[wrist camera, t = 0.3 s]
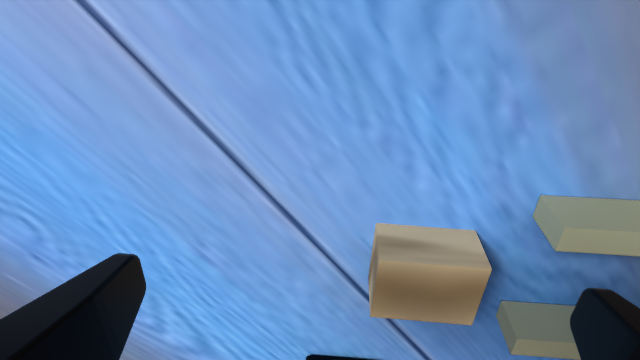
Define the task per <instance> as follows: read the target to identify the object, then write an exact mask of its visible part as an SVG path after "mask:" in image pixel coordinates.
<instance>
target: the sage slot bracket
mask: <svg viewBox="0 0 640 360" xmlns="http://www.w3.org/2000/svg"><path fill="white" fill-rule="evenodd" d="M533 218H534V220H535V221H536V223H537V224H538V226H539V227H540V229H541V230H542V232H543V233H544V235H545V236H546V238H547V239H548V241H549V242H550V244H551V245H552V247H553V248H554V250H555V251H563V252H579V253H595V254H610V255H626V256H640V201H638V200H620V199H602V198H584V197H567V196H549V195H540V198H539V200H538V203H537V206H536V209H535V211H534V214H533ZM574 308H575V306H571V305H557V304H542V303H528V302H514V301H501V303H500V306H499V308H498V311H497V314H496V317H497V320H498V323H499V325H500V328H501V330H502V333H503V336H504V338H505V341H506V343H507V346H508V349H509V351H510V354H513V355H526V356H539V357H551V358H564V359H577V360H581V358H580V355H579V352H578V349H577V346H576V343H575V340H574V337H573V334H572V331H571V328H570V317H571V314H572V312H573V310H574Z"/></svg>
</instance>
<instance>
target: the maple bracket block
mask: <svg viewBox="0 0 640 360" xmlns="http://www.w3.org/2000/svg"><path fill="white" fill-rule="evenodd" d="M491 271H492V268H491V265H490V263H489V261H488V258H487V256H486V254H485V251H484V249H483V247H482V245H481V242H480V240H479V238H478V235H477V233H476V231H474V230H461V229H448V228H435V227H422V226H409V225H396V224H383V223H376V226H375V234H374V241H373V248H372V255H371V262H370V269H369V276H368V277H369V299H370V317H380V318H392V319H403V320H415V321H427V322H438V323H450V324H462V325H472V324H473V321H474V318H475V316H476V313H477V310H478V307H479V304H480V302H481V299H482V296H483V293H484V290H485V288H486V285H487V282H488V279H489V277H490V274H491Z"/></svg>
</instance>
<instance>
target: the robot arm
mask: <svg viewBox="0 0 640 360" xmlns="http://www.w3.org/2000/svg"><path fill="white" fill-rule="evenodd" d="M145 291H146V282H145V278H144V274H143V270H142V266H141V263H140V259H139V258H138V256H137V255H134V254H123V253H118V254H115V255H112V256H111V257H109V258H107V259H105V260H104V261H102V262H100V263H98V264H97V265H95V266H93V267H91V268H90V269H88V270H86V271H84V272H83V273H81V274H79V275H77V276H76V277H74V278H72V279H70V280H69V281H67V282H65V283H63V284H62V285H60V286H58V287H56V288H55V289H53V290H51V291H49V292H48V293H46V294H44V295H42V296H40V297H39V298H37V299H35V300H33V301H32V302H30V303H28V304H26V305H25V306H23V307H21V308H19V309H18V310H16V311H14V312H12V313H11V314H9V315H7V316H5V317H4V318H2V319H0V360H119V359H120V356H121V354H122V351H123V349H124V346H125V344H126V341H127V339H128V336H129V334H130V331H131V328H132V326H133V323H134V321H135V318H136V316H137V313H138V311H139V308H140V306H141V303H142V300H143V298H144V295H145ZM570 328H571V331H572V334H573V337H574V340H575V343H576V346H577V349H578V352H579V355H580V358H581V360H640V308H638V307H637V306H635V305H634V304H632V303H630V302H629V301H627V300H626V299H624V298H623V297H621V296H620V295H618V294H617V293H615V292H614V291H612V290H609V289H601V288H587V289H585V290H584V291H583V292H582V294H581V296H580V298H579V300H578V302H577V304H576V306H575V308H574V310H573V312H572V314H571V317H570ZM306 360H363V359H351V358H338V357H326V356H313V355H310V356H307V357H306Z"/></svg>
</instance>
